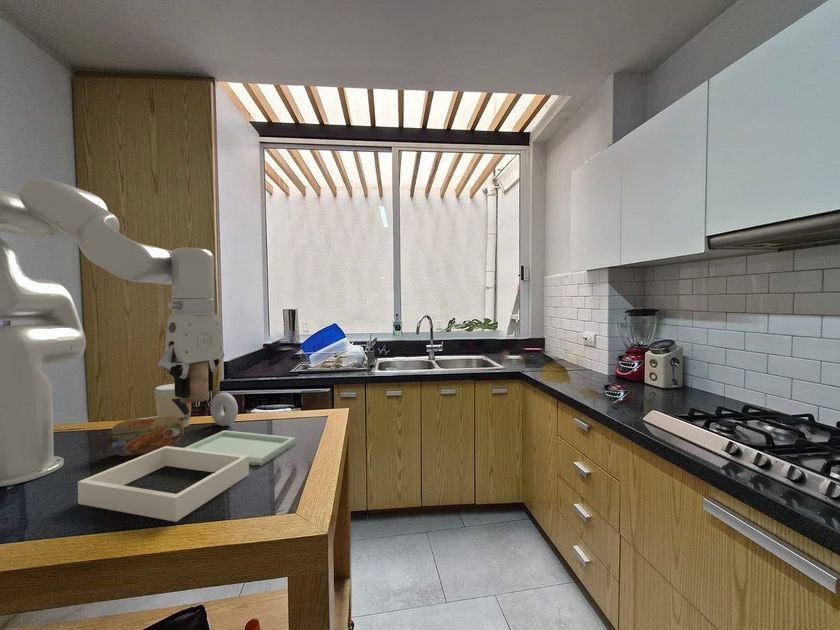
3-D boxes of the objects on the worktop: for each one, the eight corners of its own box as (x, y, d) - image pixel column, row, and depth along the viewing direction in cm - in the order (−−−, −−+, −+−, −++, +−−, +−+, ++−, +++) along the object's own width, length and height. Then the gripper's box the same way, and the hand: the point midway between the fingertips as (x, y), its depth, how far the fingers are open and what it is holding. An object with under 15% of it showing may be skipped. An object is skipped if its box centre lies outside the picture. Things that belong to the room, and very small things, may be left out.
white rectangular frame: (78, 503, 64) (77, 481, 64) (166, 463, 80) (166, 445, 80) (176, 521, 58) (175, 498, 58) (248, 474, 75) (248, 455, 75)
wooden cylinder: (174, 402, 73) (173, 363, 73) (195, 396, 78) (195, 359, 77) (193, 403, 71) (193, 364, 71) (214, 397, 76) (213, 361, 76)
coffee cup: (178, 431, 100) (178, 389, 100) (146, 431, 101) (146, 389, 100) (200, 421, 110) (199, 382, 109) (170, 421, 110) (169, 382, 110)
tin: (106, 458, 83) (105, 423, 83) (111, 453, 86) (111, 419, 85) (182, 448, 89) (182, 415, 89) (185, 444, 92) (184, 412, 91)
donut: (240, 426, 105) (240, 393, 105) (230, 430, 102) (229, 395, 102) (218, 421, 109) (218, 389, 109) (207, 425, 106) (207, 392, 106)
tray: (182, 456, 84) (181, 448, 84) (224, 436, 97) (224, 430, 97) (261, 466, 79) (261, 458, 79) (295, 444, 91) (295, 437, 91)
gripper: (168, 307, 65) (170, 406, 65) (239, 307, 81) (240, 386, 82) (138, 307, 67) (139, 403, 67) (213, 307, 83) (213, 384, 84)
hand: (194, 392), depth 74 cm, fingers closed on wooden cylinder, 5 cm apart
